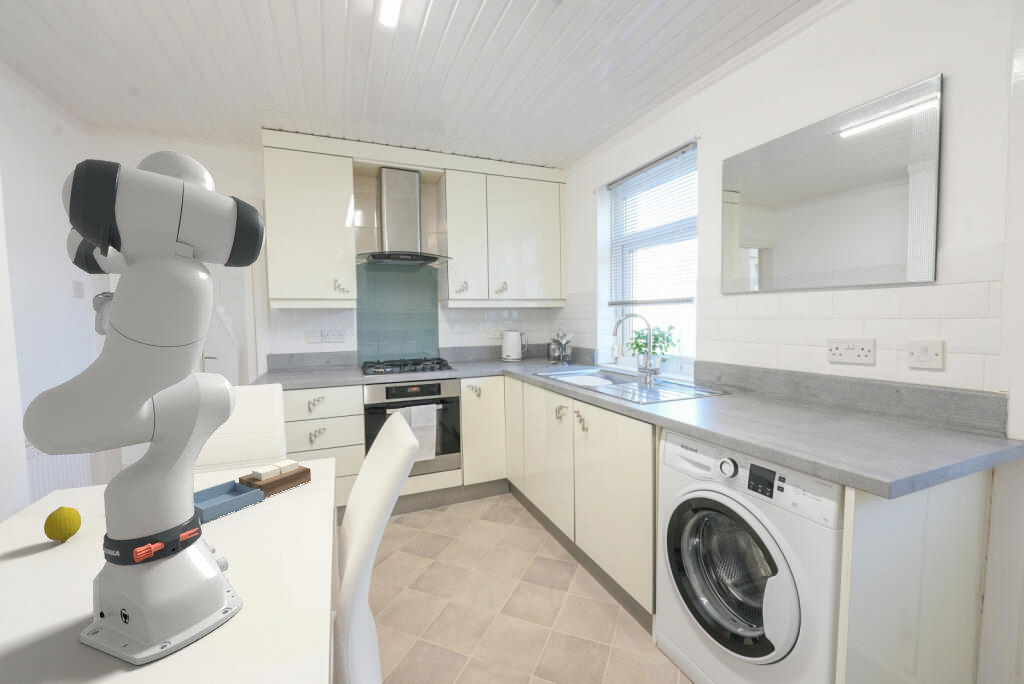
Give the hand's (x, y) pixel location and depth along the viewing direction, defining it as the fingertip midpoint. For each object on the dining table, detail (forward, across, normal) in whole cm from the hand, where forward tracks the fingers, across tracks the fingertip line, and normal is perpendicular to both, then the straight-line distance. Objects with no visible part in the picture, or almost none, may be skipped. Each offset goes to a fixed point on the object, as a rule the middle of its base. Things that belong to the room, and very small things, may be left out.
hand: (159, 353), depth 94 cm
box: (+41, +11, +1) cm, 43 cm away
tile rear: (+37, +28, +1) cm, 47 cm away
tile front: (+37, +23, +1) cm, 44 cm away
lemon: (+41, -15, +13) cm, 46 cm away
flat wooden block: (+41, +25, +1) cm, 48 cm away
